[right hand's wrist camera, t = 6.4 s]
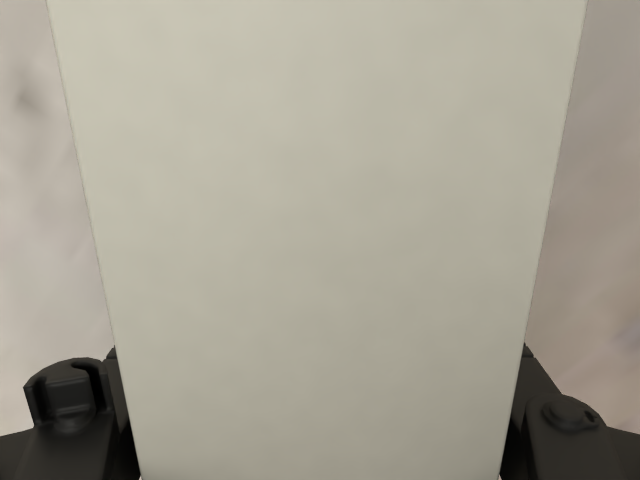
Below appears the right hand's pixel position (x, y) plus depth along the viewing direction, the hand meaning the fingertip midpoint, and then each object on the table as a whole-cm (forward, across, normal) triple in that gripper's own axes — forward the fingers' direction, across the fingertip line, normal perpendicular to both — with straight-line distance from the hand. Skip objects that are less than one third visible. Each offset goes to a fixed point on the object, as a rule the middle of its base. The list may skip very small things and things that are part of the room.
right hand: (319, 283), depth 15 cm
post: (+1, 0, -30) cm, 30 cm away
